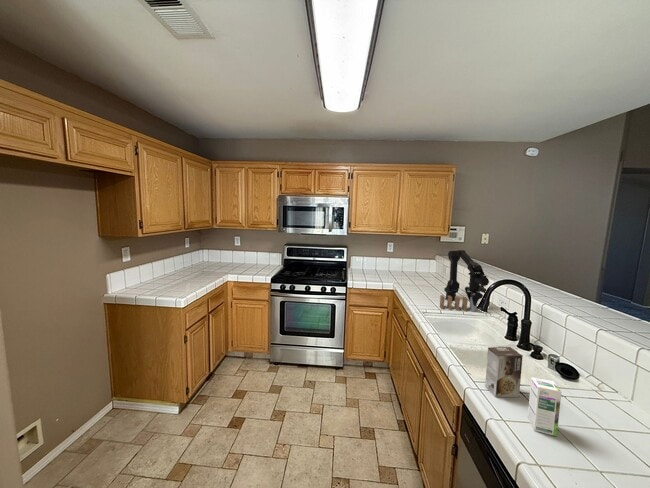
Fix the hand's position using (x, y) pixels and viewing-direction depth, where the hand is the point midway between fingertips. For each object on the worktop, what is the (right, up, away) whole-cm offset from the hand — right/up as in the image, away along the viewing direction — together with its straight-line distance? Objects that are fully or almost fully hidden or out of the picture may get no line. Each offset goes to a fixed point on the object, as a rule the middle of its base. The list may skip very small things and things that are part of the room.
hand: (472, 303), depth 185 cm
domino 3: (-10, -5, +3) cm, 11 cm away
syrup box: (-37, -15, -103) cm, 110 cm away
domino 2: (-15, -4, +4) cm, 16 cm away
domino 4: (-5, -5, +1) cm, 7 cm away
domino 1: (-20, -4, +5) cm, 21 cm away
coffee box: (-38, -13, -87) cm, 95 cm away
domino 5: (0, -5, +1) cm, 5 cm away
